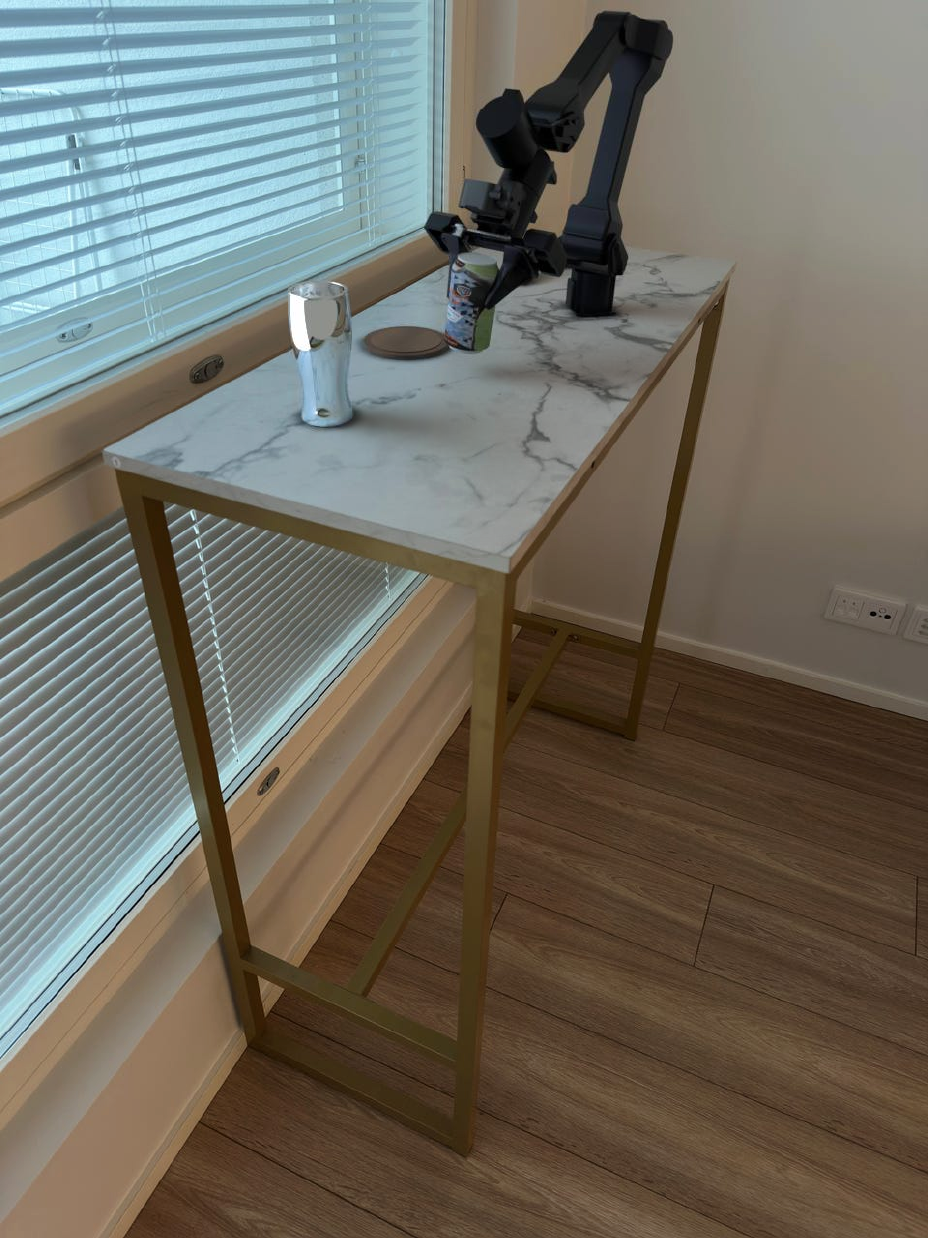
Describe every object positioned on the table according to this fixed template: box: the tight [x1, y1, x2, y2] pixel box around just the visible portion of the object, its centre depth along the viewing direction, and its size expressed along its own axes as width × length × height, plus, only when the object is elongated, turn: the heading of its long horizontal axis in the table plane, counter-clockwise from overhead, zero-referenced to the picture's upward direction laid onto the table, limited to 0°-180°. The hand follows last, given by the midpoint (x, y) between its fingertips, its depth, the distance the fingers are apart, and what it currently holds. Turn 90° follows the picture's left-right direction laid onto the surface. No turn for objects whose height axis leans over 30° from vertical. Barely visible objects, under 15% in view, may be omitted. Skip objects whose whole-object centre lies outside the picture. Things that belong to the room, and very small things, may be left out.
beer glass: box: [287, 280, 354, 428], centre depth 104 cm, size 7×7×15 cm
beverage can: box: [444, 252, 500, 355], centre depth 116 cm, size 6×7×12 cm
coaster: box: [363, 325, 449, 361], centre depth 129 cm, size 12×12×1 cm
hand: (467, 303), depth 114 cm, fingers closed on beverage can, 5 cm apart
